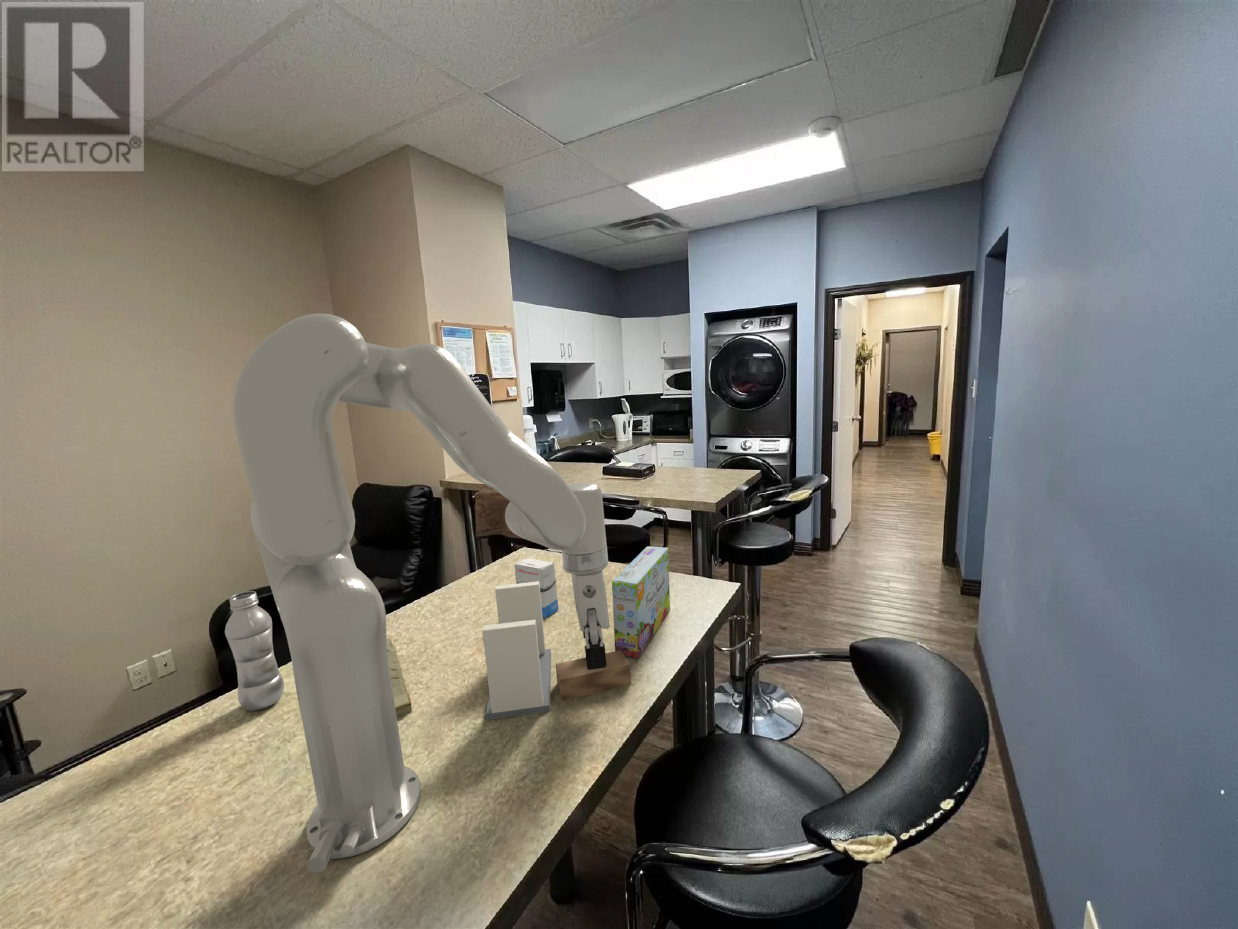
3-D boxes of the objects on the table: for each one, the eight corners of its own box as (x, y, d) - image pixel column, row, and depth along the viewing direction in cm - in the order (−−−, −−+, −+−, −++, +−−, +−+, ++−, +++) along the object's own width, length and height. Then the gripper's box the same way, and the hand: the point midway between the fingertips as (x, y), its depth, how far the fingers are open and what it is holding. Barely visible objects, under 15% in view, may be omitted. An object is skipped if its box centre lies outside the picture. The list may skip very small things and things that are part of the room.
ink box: (559, 609, 112) (555, 561, 110) (545, 619, 108) (540, 569, 106) (532, 603, 117) (528, 556, 115) (517, 611, 112) (513, 563, 111)
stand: (549, 711, 77) (541, 623, 74) (486, 720, 75) (475, 631, 73) (551, 653, 93) (544, 580, 91) (498, 660, 92) (490, 586, 90)
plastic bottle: (282, 687, 88) (262, 584, 85) (290, 703, 83) (269, 594, 80) (238, 705, 83) (215, 596, 80) (243, 722, 79) (220, 608, 75)
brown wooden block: (622, 670, 87) (621, 649, 86) (631, 686, 82) (629, 664, 82) (557, 685, 84) (555, 664, 83) (562, 702, 79) (560, 680, 78)
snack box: (641, 660, 89) (637, 583, 87) (614, 655, 91) (608, 580, 89) (672, 609, 109) (669, 546, 106) (648, 606, 111) (645, 544, 108)
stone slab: (387, 626, 103) (415, 688, 78) (389, 644, 104) (418, 712, 79) (320, 645, 97) (328, 720, 72) (323, 664, 97) (331, 745, 72)
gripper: (613, 574, 71) (622, 678, 74) (602, 538, 88) (610, 623, 91) (563, 581, 71) (574, 685, 74) (561, 543, 88) (571, 629, 91)
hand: (594, 651), depth 82 cm, fingers open, 9 cm apart
